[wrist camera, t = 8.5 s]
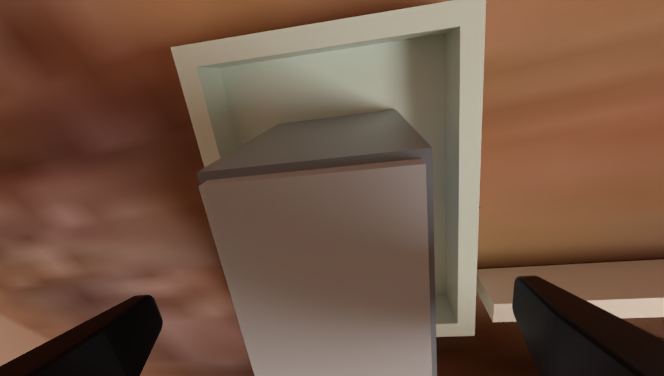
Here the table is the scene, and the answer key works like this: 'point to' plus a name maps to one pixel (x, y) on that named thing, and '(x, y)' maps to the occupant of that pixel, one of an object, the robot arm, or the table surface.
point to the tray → (364, 107)
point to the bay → (583, 286)
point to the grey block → (329, 246)
